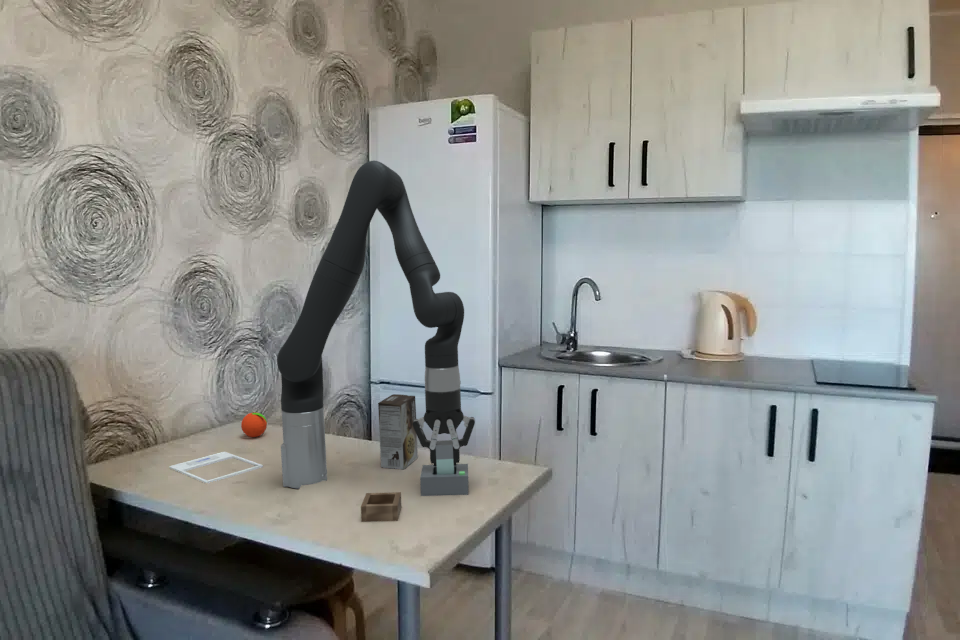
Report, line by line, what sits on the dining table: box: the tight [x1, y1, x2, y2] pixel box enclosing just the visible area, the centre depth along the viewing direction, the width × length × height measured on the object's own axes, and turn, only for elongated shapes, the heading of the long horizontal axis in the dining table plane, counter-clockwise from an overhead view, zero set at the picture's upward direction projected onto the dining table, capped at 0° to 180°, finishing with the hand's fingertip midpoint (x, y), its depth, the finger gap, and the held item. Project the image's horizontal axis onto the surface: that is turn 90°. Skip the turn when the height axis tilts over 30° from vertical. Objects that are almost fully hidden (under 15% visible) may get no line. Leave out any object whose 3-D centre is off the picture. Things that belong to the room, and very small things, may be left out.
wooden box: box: [360, 491, 403, 523], centre depth 137 cm, size 7×7×4 cm
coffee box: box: [377, 394, 419, 470], centre depth 170 cm, size 9×6×16 cm
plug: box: [436, 439, 454, 475], centre depth 149 cm, size 4×4×8 cm
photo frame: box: [168, 451, 264, 484], centre depth 170 cm, size 15×1×18 cm
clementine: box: [240, 411, 268, 438], centre depth 195 cm, size 8×7×7 cm
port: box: [419, 463, 469, 497], centre depth 150 cm, size 10×8×5 cm
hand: (445, 464), depth 149 cm, fingers closed on plug, 3 cm apart
